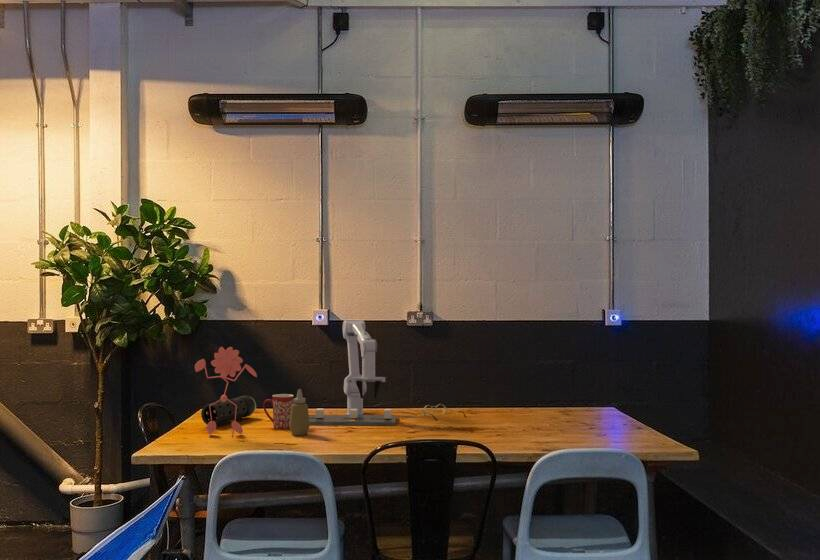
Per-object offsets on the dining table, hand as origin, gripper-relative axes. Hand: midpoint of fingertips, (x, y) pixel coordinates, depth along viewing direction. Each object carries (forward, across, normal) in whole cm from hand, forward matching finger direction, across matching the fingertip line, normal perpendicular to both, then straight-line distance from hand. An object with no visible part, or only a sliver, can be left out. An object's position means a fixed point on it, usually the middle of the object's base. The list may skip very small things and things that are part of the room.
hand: (368, 398), depth 310 cm
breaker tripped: (+9, -7, 0) cm, 11 cm away
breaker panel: (+10, -8, 0) cm, 13 cm away
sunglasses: (+11, +33, +16) cm, 38 cm away
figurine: (+11, -54, -31) cm, 63 cm away
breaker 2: (+8, +8, 0) cm, 12 cm away
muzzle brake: (+11, -60, -4) cm, 62 cm away
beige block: (+9, -21, 0) cm, 23 cm away
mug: (+11, -36, -15) cm, 41 cm away
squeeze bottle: (+11, -24, -30) cm, 40 cm away
